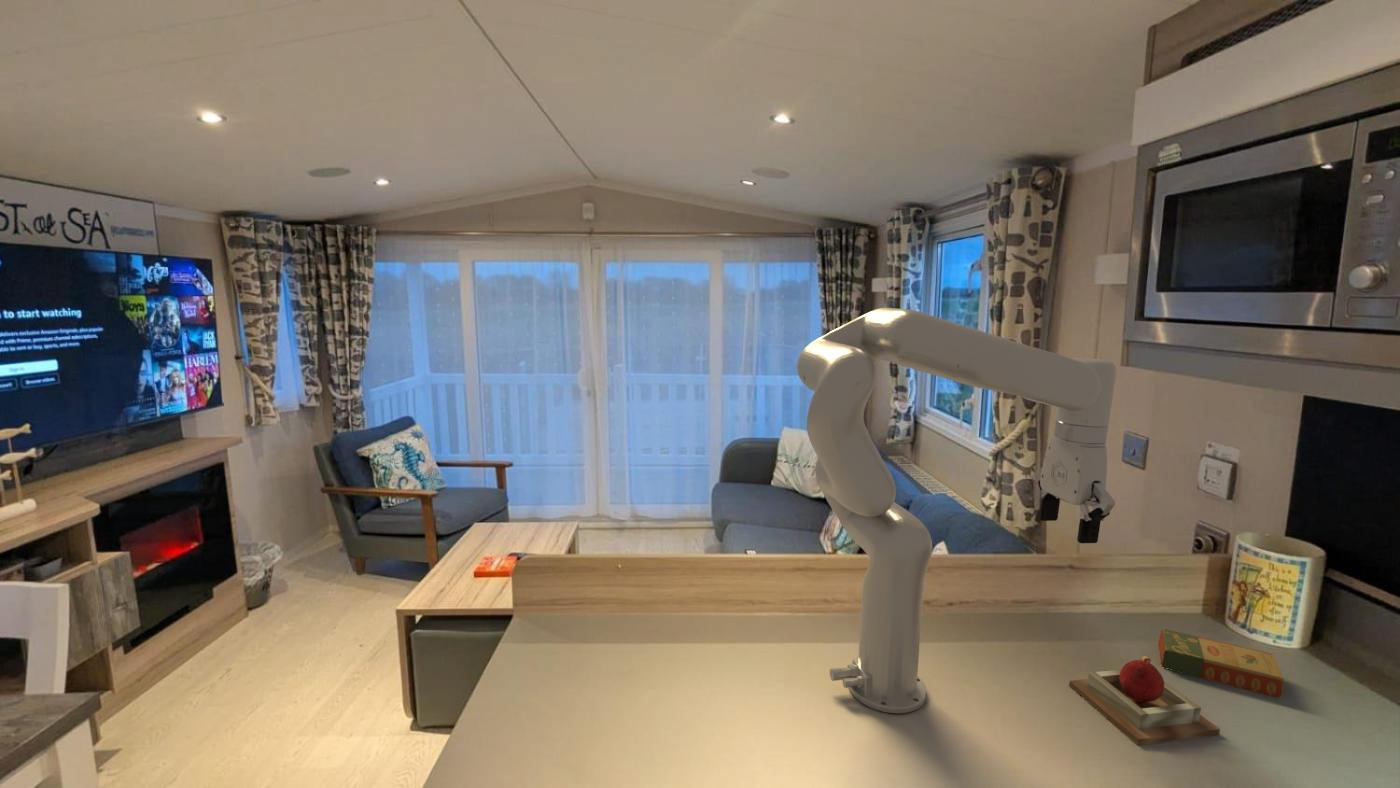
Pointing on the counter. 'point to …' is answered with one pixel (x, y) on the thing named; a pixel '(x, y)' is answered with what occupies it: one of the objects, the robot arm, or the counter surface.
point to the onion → (1141, 680)
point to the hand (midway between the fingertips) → (1066, 530)
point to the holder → (1144, 710)
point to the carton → (1221, 662)
